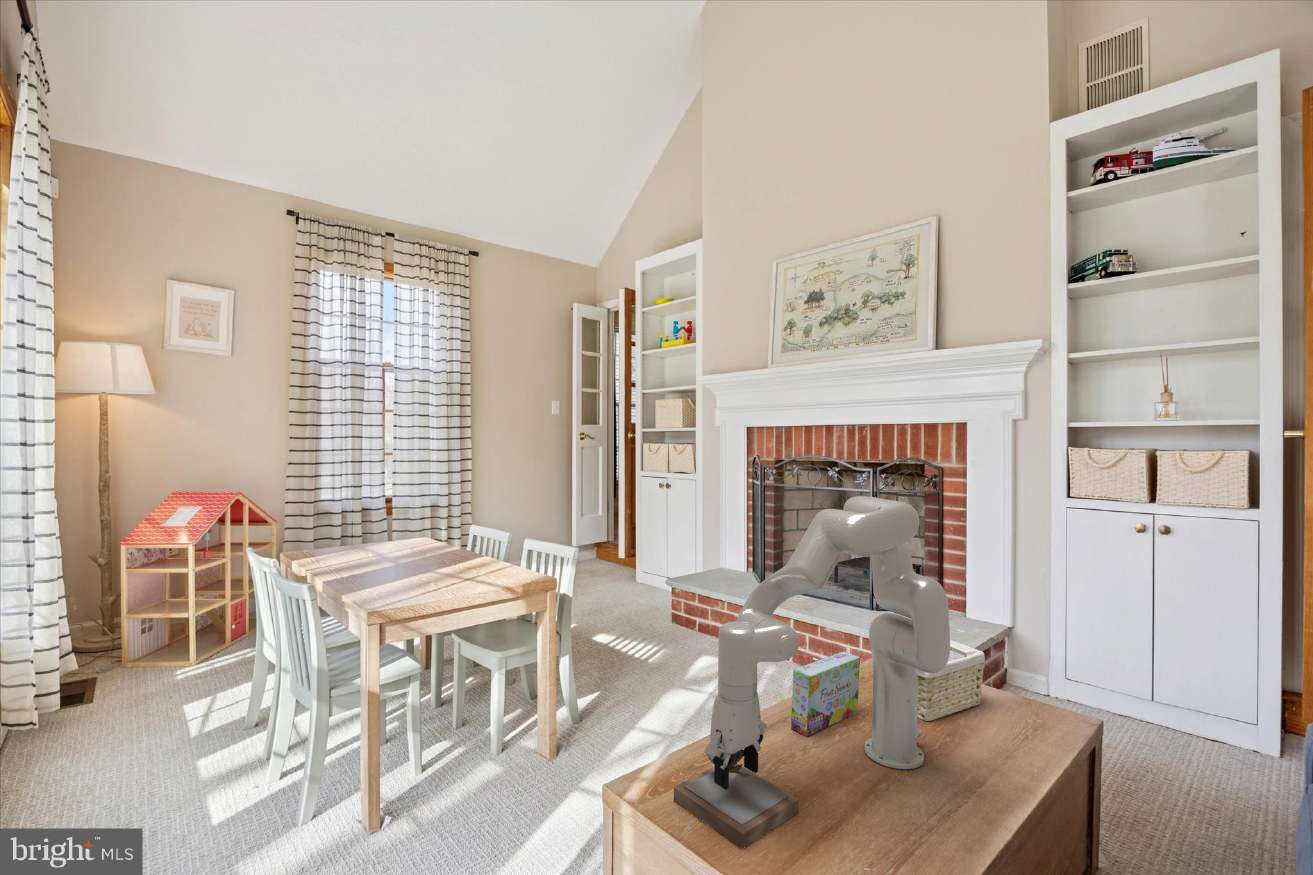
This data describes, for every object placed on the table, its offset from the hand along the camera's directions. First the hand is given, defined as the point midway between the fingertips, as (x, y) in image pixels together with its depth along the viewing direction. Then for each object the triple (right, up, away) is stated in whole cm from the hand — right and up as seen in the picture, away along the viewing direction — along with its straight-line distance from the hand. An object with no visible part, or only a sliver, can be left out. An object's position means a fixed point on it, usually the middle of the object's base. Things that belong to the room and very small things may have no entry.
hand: (736, 777), depth 120 cm
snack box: (+27, -6, +35) cm, 45 cm away
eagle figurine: (-4, 0, +2) cm, 4 cm away
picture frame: (0, -6, 0) cm, 6 cm away
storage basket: (+58, -6, +46) cm, 75 cm away
